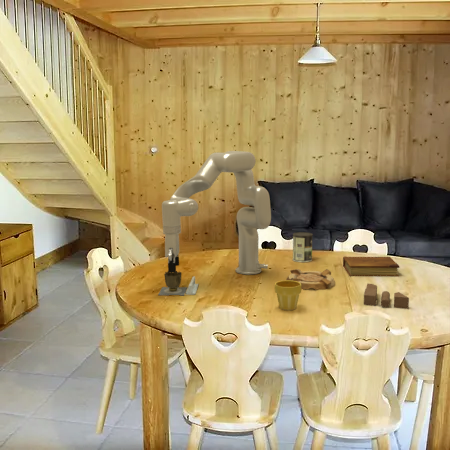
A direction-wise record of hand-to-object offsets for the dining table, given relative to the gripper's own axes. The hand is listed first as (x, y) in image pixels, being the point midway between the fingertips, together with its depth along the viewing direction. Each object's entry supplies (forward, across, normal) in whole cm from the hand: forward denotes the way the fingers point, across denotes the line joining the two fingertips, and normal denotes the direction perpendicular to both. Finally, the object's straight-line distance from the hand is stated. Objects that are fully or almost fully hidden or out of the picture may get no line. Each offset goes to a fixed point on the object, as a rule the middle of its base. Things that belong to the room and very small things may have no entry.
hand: (173, 268), depth 236 cm
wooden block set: (+12, +10, +88) cm, 89 cm away
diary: (+14, -36, +90) cm, 98 cm away
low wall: (+10, -2, +7) cm, 13 cm away
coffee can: (+13, -57, +59) cm, 83 cm away
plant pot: (+11, +20, +47) cm, 52 cm away
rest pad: (+10, +1, -1) cm, 10 cm away
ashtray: (+12, -15, +59) cm, 62 cm away
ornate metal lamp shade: (+10, +1, -1) cm, 10 cm away
